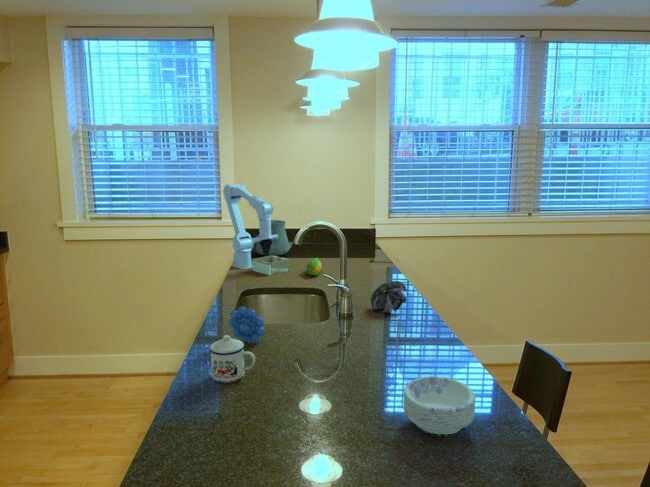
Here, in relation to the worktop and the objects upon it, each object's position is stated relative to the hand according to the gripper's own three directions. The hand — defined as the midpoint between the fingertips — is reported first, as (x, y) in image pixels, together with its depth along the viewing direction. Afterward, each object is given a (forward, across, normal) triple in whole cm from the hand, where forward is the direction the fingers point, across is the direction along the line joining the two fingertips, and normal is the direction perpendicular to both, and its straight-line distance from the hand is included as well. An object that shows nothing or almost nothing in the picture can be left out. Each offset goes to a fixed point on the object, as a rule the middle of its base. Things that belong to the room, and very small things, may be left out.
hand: (266, 254), depth 246 cm
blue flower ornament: (+10, -61, -70) cm, 93 cm away
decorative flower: (+10, -3, -80) cm, 81 cm away
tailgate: (+9, -3, 0) cm, 9 cm away
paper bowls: (+10, -58, -139) cm, 151 cm away
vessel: (+10, +30, +32) cm, 45 cm away
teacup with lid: (+10, -77, -87) cm, 117 cm away
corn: (+10, +17, -17) cm, 26 cm away
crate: (+9, +3, 0) cm, 10 cm away
